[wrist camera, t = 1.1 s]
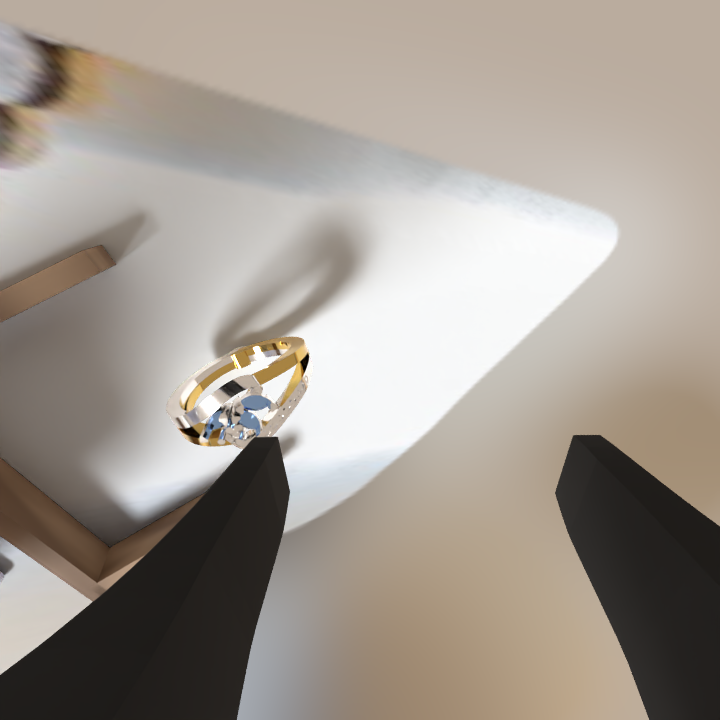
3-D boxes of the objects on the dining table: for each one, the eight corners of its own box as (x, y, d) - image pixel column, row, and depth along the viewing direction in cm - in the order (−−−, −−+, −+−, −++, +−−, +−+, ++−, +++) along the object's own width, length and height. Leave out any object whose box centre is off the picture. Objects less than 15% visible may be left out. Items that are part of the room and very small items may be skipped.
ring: (192, 400, 22) (174, 492, 15) (165, 351, 20) (130, 427, 13) (307, 355, 23) (340, 421, 16) (288, 307, 22) (316, 355, 14)
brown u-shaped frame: (106, 565, 24) (93, 601, 22) (-146, 367, 17) (-204, 391, 15) (271, 469, 25) (275, 494, 23) (101, 244, 18) (83, 250, 16)
